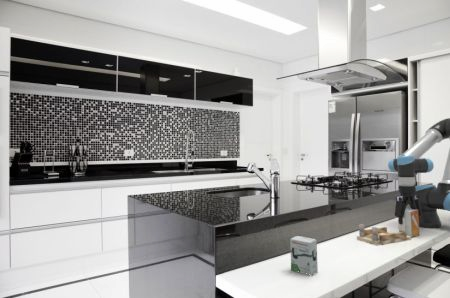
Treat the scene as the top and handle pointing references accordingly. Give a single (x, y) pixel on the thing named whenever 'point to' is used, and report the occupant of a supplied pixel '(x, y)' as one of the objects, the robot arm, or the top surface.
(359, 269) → the top surface
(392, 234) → the board
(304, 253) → the ink box
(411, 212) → the small box
